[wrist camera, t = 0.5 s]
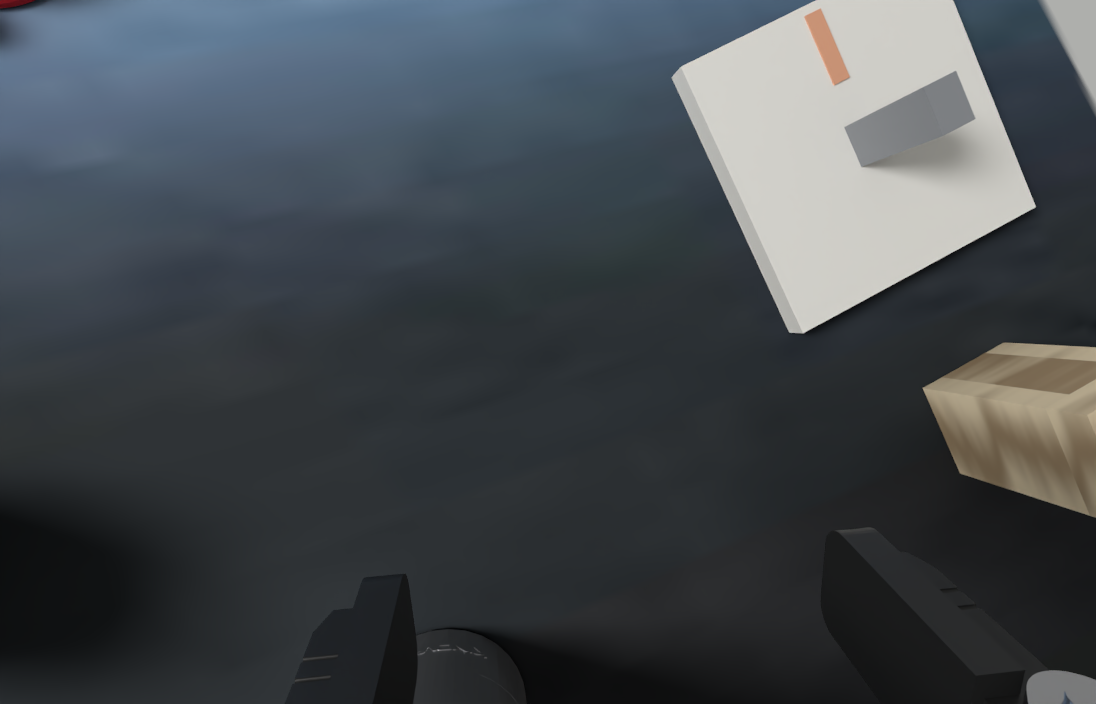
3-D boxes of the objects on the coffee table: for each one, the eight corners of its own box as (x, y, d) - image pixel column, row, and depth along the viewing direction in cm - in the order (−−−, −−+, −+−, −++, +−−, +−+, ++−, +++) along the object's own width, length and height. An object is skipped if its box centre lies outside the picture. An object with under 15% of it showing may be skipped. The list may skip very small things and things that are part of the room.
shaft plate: (1013, 211, 37) (1149, 185, 30) (789, 332, 36) (872, 337, 28) (911, -41, 35) (1028, -136, 28) (671, 77, 34) (727, 11, 27)
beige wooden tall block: (1039, 427, 38) (1243, 468, 28) (960, 473, 38) (1138, 531, 28) (1003, 342, 37) (1199, 352, 27) (922, 388, 37) (1091, 415, 27)
